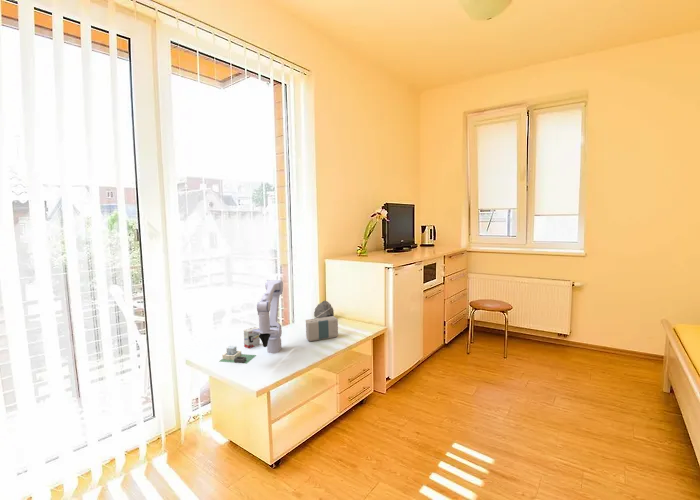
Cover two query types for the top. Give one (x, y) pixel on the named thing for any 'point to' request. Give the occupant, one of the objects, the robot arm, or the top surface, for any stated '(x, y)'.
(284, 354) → the top surface
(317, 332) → the stereo radio cassette player
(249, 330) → the ink box
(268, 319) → the robot arm
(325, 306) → the decorative rock
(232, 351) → the plug
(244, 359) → the block
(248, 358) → the board
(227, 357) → the frame
